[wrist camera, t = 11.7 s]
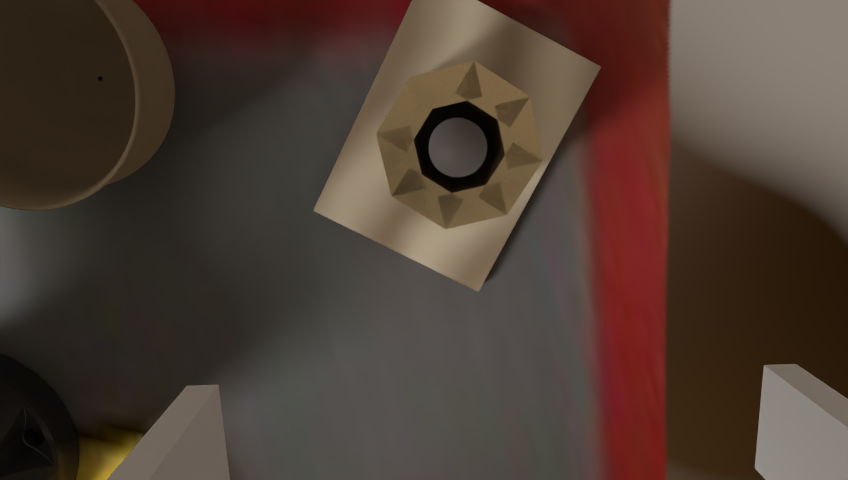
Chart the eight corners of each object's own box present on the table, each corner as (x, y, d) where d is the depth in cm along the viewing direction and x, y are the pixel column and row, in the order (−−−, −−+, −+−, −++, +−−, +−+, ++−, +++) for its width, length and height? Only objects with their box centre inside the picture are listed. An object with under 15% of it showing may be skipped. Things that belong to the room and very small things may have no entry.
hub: (316, 207, 40) (287, 232, 32) (425, -24, 37) (423, -61, 29) (477, 286, 41) (488, 329, 33) (596, 68, 38) (640, 57, 30)
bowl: (47, 203, 40) (-77, 234, 30) (-17, 5, 37) (-176, -32, 28) (230, 169, 39) (163, 189, 30) (178, -36, 37) (86, -88, 27)
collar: (406, 218, 38) (402, 239, 32) (375, 91, 36) (364, 87, 30) (532, 190, 37) (551, 205, 31) (506, 59, 36) (520, 48, 30)
